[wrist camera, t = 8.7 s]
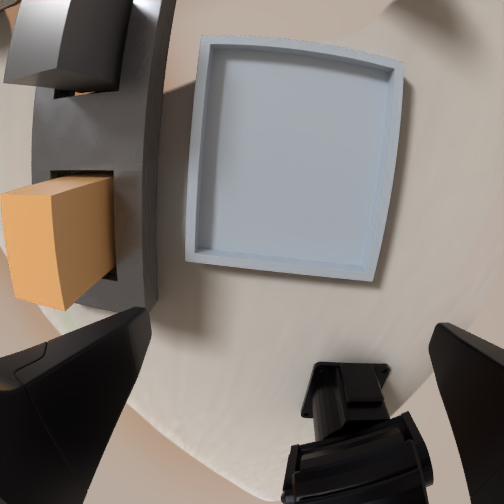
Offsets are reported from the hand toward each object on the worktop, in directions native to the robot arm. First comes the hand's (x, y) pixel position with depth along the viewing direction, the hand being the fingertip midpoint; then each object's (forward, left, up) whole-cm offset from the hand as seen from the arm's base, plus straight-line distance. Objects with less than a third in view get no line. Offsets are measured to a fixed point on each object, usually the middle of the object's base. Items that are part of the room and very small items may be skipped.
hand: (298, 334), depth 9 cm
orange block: (0, +13, -12) cm, 18 cm away
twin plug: (+12, +13, -12) cm, 21 cm away
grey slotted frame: (+6, +13, -12) cm, 18 cm away
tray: (+5, 0, -12) cm, 13 cm away
